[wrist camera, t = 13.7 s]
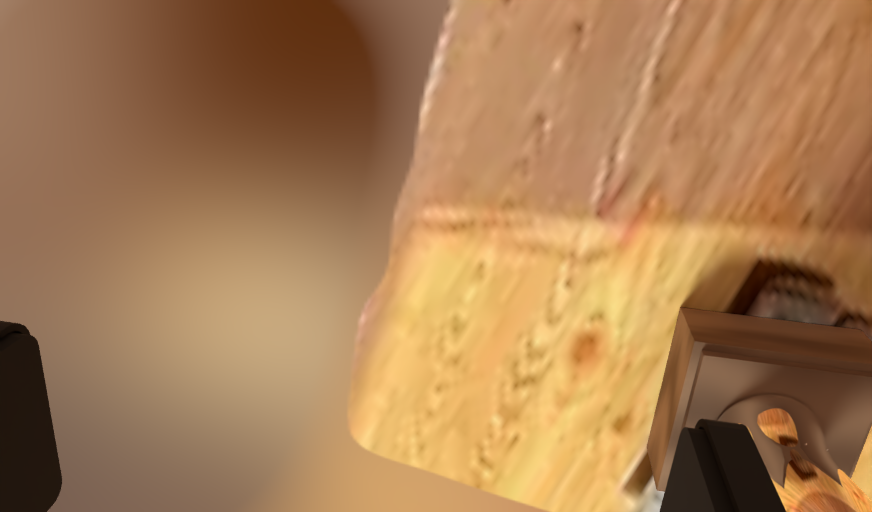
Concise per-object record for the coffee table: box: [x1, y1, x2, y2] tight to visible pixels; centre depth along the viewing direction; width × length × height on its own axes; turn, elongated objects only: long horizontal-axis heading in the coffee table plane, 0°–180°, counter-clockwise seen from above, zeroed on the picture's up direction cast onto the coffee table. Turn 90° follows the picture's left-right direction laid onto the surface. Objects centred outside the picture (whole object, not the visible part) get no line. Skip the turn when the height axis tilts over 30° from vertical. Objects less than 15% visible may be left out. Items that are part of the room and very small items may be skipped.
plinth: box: [647, 307, 872, 492], centre depth 43 cm, size 11×11×5 cm
